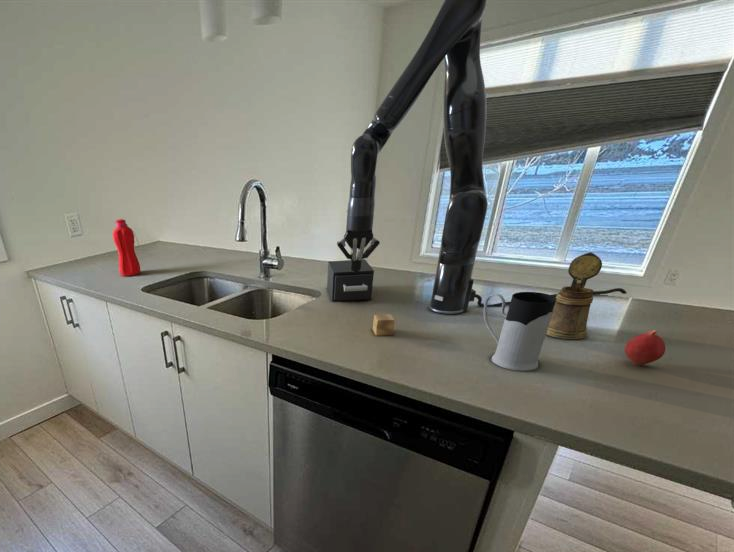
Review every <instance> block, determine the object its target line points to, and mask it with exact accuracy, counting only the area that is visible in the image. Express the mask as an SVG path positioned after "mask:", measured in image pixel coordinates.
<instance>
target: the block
mask: <svg viewBox="0 0 734 552" xmlns="http://www.w3.org/2000/svg"><path fill="white" fill-rule="evenodd" d="M394 327H395V318H394V317H393V315H392V314H390V313H385V314H384V313H383V314H373V323H372V331H373V333H374V335H375V336H393V335H394Z"/></svg>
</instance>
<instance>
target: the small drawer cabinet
mask: <svg viewBox="0 0 734 552" xmlns="http://www.w3.org/2000/svg"><path fill="white" fill-rule="evenodd" d="M348 274H372V275H373V277H374V274H375V270H374V269H373V267H372V266H371V265H370V264H369V263H368V261H367V260H366V258H364V259H362V261H361V269H360V270H358V272H356V273H353V271H352V270H351V259H347V260H329V261H328V262H327V279H326V280H327V283H326V284H327V285H326V289H327V292H328V294H329V297H330V300H331V302H350V301H351V302H352V301H371V300H372V295H373V288H372V289H371V298H370V299H351V300H334V293H335V276H336V275H348ZM373 286H374V278H373V279H372V287H373Z"/></svg>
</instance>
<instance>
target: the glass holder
mask: <svg viewBox="0 0 734 552" xmlns="http://www.w3.org/2000/svg"><path fill="white" fill-rule="evenodd" d="M552 295H553V294H548V293H545V292H538V291H520V292H515V293H513V294H512V296H511V299H510V301H509V302H510V305H508V310H507V313H505V309H506V305H505V302H506V299H505V298H504V296H502V295H501V294H500V293H494V294H490V295H488V297H486V299H485V301H484V303H483V304H484V307H483V320H484V323H485V326H486V327H487V329H488V331H489V332H490V334H491V335H492V337H493V338H494V339H495V341H496V344H497V346H496V350H495V352H494V354H493V355H492V357H491V361H492V363H493V364H495V365H497V366H498V367H501V368H504V369H507V370H512V371H519V372H521V371H522V372H529V371H534V370H536V369H538V367H539V360H538V359H539V356H540V354H541V350H542V348H543V345H544V342H545V339H546V336H547V334H546V333H547V330H548V327H549V324H550V321H551V318H552V315H553V313H552V312H553V309H554V306H555V303H556V300H557V299H556V297H554V296H552ZM492 297H497V298H499V299H500V300H501V303H502V306H501V310H500V314H501V315H502V316H503V317H504V322H503V324H502V327H501V331H500V335H499V337H498V336H497V334H496V333H495V332H494V330H493V328H492V326H491V324H490V322H489V319H488V318H489V317H488V312H487V311H488V310H487V309H488V307H487V305H489V304H488V303H489V300H490V298H492Z"/></svg>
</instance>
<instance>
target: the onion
mask: <svg viewBox="0 0 734 552" xmlns="http://www.w3.org/2000/svg"><path fill="white" fill-rule="evenodd" d="M665 352H666V344H665V340H663V338H662V337H660V336H659V335H658V330H655V329H652V330H651V331H648V332H645V333H641V334H637V335H636V336H634V337H632V338H631V339H629V340H628V341H627V343H626V344H625V346H624V353H625V356H626V357H627V359H628V360H629V361H631V362H632V363H633V364H634V366H638V367H640V366H644V365H646V364H651V363H653V362H656V361H658V360H659V359H661V358H662V357H664V355H665Z"/></svg>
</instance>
